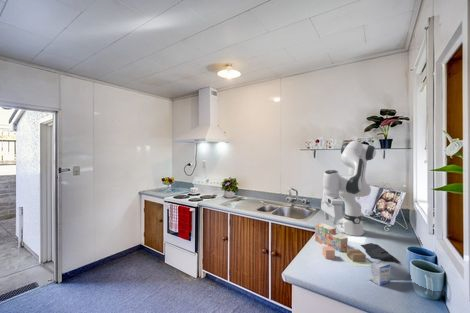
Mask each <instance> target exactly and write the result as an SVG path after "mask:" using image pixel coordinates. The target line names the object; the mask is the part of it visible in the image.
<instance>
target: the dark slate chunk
mask: <svg viewBox="0 0 470 313" xmlns="http://www.w3.org/2000/svg"><path fill="white" fill-rule="evenodd" d="M360 247H362V248H363V249H364V252H365V253H366V254H367V255H368V256H369V257H370V259H374V260H378V261H384V262H387V263H388V262H391V263H395V264H399V263H400V260H399V259H398V258H396V257H395V256H393V255H392V254H391V253H390V252H388V250H386V249H384V248H383V247H382V246H380V245H379V244H376V243H371V242H369V243H364V244H361V245H360Z"/></svg>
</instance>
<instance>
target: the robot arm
mask: <svg viewBox="0 0 470 313" xmlns="http://www.w3.org/2000/svg"><path fill="white" fill-rule="evenodd" d="M340 154H341V155H340V159H341V162H342V163H343V165H345V166H346V167H348V171H347V175H340V174H339V171H338V170H335V169H330V170H329V169H328V170H325V171H324V172H323V178H322V188H323V189H322V199H321V204H320V208H321V211H322V212H324V213H323V214H324V220H326V221H327V220H330V216H331V217H332V221H331V224H332V225H333V226H335V228H336V229H337V230H338V231H339V233H342V234H347V235H350V236H356V237H357V236H359V237H360V236H364V234H365V233H366V231H364V222H363V215H362V205H361V203H359V201H357V200H356V198H360V197H361V198H362V197H367V196H369V195H370V194H371V190H372V189H371V186H370V185H369V184H368V183H367V181H366V171H367V165H368V164H367V162H368V161H371V160H373V159H374V158H375V157H376V154H377V150H376V147H375V146H374V145H370V144H366V143H365V144H364V143H362V142H361V141H359V140H352V141H350V142H344V143H343V144H342V145H341V147H340ZM343 204H344V213H343ZM338 219H339V221H338ZM337 222H338V224H337Z"/></svg>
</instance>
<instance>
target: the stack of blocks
mask: <svg viewBox="0 0 470 313" xmlns="http://www.w3.org/2000/svg"><path fill="white" fill-rule="evenodd" d="M314 228H315V230H314V232H315V233H314V236H315V237H314V241H315V242H316V243H318V244H320V245H325V246H326V247H332V248H333V249H334V250H335V251H337V252H338V253H339V252H347V249H348V241H349V240H348V237H347V236H344V235H342V234H340V233H338V232H337V231H336V230H337V227H334V226H331V225H328V224H326V223H323V222H319V223H315V224H314Z"/></svg>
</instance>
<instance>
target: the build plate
mask: <svg viewBox="0 0 470 313" xmlns="http://www.w3.org/2000/svg"><path fill="white" fill-rule="evenodd" d="M338 253H340V255H341V256H342V257H343V258H344V259H345V260H346V261H347V262H348V263H349V264H350V265H351V266H352V267H371V264H372V263H373V262H371V261H370V260H368V259H367V258H366V262H353V261H352V260H351V259H350V258H349V257H348V256H347V251H344V252H339V251H338Z"/></svg>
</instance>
